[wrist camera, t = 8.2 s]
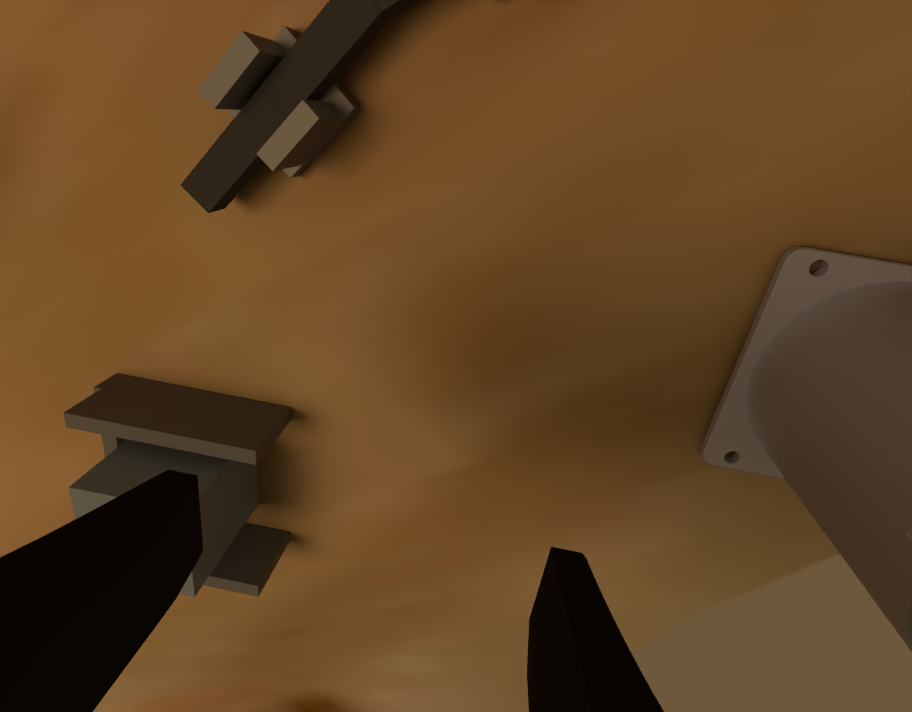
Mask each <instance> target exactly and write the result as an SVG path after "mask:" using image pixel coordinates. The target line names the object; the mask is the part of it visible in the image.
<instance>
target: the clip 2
mask: <svg viewBox="0 0 912 712" xmlns="http://www.w3.org/2000/svg"><path fill="white" fill-rule="evenodd" d="M299 38H300V37H299V36H298V35H297V33H296V32H295V31H294V30H293V29H291V28H289V27H286V26H284V27H283V28H282V29H281V30H280V32H279V33H278V34H277V36H276V37H275V38H274V39H273V40H269V39H266V38H263V37H260V36H257V35H254V34H251V33H248V32H244V31H241V33H240V34H239V35H238V37H237V38H236V39H235V41H234V42H233V43H232V44H231V46H230V47H229V48H228V50H227V51H226V52H225V54H224V55H223V56H222V58H221V59H220V60H219V62H218V63H217V64H216V66H215V67H214V68H213V70H212V71H211V72H210V74H209V75H208V76H207V78H206V79H205V80H204V82H203V83H202V84H201V86H200V87H199V88H198V90H197V91H198V92H199V93H200V94H201V95H202V96H203V97H204V98H205V99H206V100H207V101H208V102H209V104H210V105H211V106H212V107H213V108H214V109H227V110H228V111H229V113H230V114H231V115H232V116H233V117H234V118H235V117H236V116H237V114H238V113H239V112H240V111H241V110H242V108H243V107H244V106H245V105H246V103H247V102H248V101H249V100H250V98H251V97H252V96H253V95H254V93H255V92H256V91H257V90H258V88H259V87H260V86H261V85H262V84H263V82H264V81H265V80H266V79H267V77H268V76H269V75H270V74H271V72H272V71H273V70H274V69H275V67H276V66H277V65H278V64H279V62H280V61H281V60H282V59H283V58H284V56H285V55H286V54H287V53H288V51H289V50H290V49H291V48H292V46H293V45H294V44H295V43H296V41H297V40H298V39H299ZM359 109H360V107H359V106H358V105H357V104H356V103H355V101H354V100H353V99H352V98H351V97H350V96H349V94H348V93H347V92H346V91H345V90H344V89H343V87H342V86H341V85H340V84H339V83H338V82H337V81H336V82H335V83H334V84H333V85H332V86H331V87H330V89H329V90H328V91H327V92H326V93H325V94H324V95H323V97H322V98H321V99H320V100H319V101H311V100H302V101H301V102H300V103H299V105H298V106H297V107H296V108H295V109H294V110H293V112H292V113H291V114H290V115H289V116H288V117H287V119H286V120H285V121H284V122H283V123H282V124H281V126H280V127H279V128H278V129H277V130H276V131H275V133H274V134H273V135H272V136H271V137H270V138H269V140H268V141H267V142H266V143H265V144H264V145H263V147H262V148H261V149H260V150H259V151H258V152H257V155H258V156H259V157H260V158H261V159H262V160H263V161H264V163H265V164H266V165H267V166H268V167H269V168H270V169H271V170H272V171H276V170H281V169H282V170H283V171H284V172H285V173H286V174H287V175H288V176H289V177H290V178H293V177H297V176H299V175H300V173H301V172H302V171H303V170H304V169H305V168H306V167H307V166H308V165H309V164H310V163H311V161H312V160H313V159H314V158H315V157H316V156H317V155H318V154H319V153H320V152H321V151H322V149H323V148H324V147H325V146H326V145H327V144H328V143H329V142H330V141H331V140H332V139H333V137H334V136H335V135H336V134H337V133H338V132H339V131H340V130H341V129H342V128H343V127H344V125H345V124H346V123H347V122H348V121H349V120H350V119H351V118H352V117H353V116H354V115H355V113H356V112H357V111H358V110H359Z"/></svg>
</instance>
